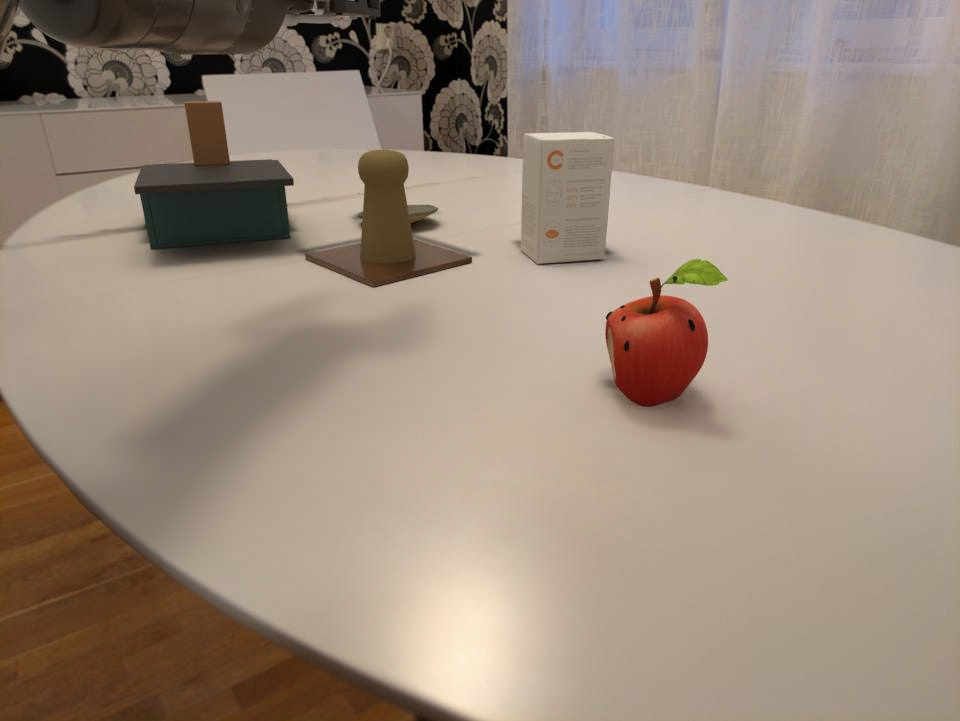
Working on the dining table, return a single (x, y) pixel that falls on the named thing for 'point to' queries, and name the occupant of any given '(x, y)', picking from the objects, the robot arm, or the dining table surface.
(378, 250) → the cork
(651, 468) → the dining table surface
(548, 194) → the small box
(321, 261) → the board
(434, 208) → the lid
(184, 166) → the bin lid
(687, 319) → the apple
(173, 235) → the bin
